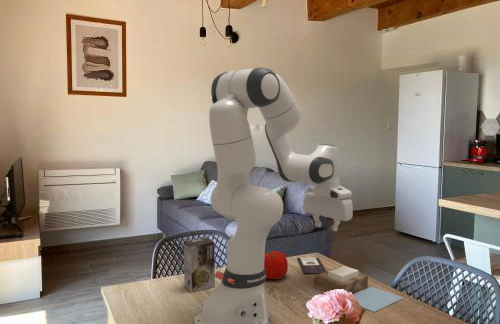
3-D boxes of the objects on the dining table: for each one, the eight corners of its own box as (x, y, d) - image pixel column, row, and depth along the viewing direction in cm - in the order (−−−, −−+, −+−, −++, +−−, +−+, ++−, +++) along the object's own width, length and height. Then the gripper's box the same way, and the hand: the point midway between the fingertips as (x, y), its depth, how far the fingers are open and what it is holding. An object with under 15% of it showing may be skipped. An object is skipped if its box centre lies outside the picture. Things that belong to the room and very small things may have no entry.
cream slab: (341, 282, 139) (342, 276, 139) (327, 277, 144) (328, 271, 144) (358, 276, 145) (358, 270, 145) (344, 271, 150) (344, 265, 150)
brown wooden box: (341, 297, 137) (341, 285, 136) (314, 286, 146) (314, 275, 146) (367, 287, 146) (367, 276, 145) (339, 277, 155) (340, 266, 154)
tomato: (273, 269, 163) (273, 246, 162) (294, 278, 154) (294, 254, 153) (251, 275, 157) (251, 251, 156) (271, 285, 147) (271, 260, 146)
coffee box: (207, 281, 151) (206, 237, 150) (215, 287, 146) (215, 241, 144) (183, 286, 146) (182, 241, 145) (191, 292, 141) (190, 245, 139)
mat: (374, 312, 126) (374, 311, 126) (342, 299, 135) (342, 298, 135) (403, 298, 136) (403, 297, 136) (371, 287, 145) (371, 286, 145)
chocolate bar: (303, 273, 158) (297, 257, 176) (303, 275, 158) (297, 260, 176) (327, 272, 158) (318, 257, 176) (327, 275, 158) (318, 259, 176)
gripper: (299, 187, 154) (298, 224, 155) (344, 195, 138) (343, 236, 140) (311, 185, 158) (310, 222, 159) (355, 193, 142) (355, 233, 144)
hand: (326, 228), depth 149 cm, fingers open, 6 cm apart
